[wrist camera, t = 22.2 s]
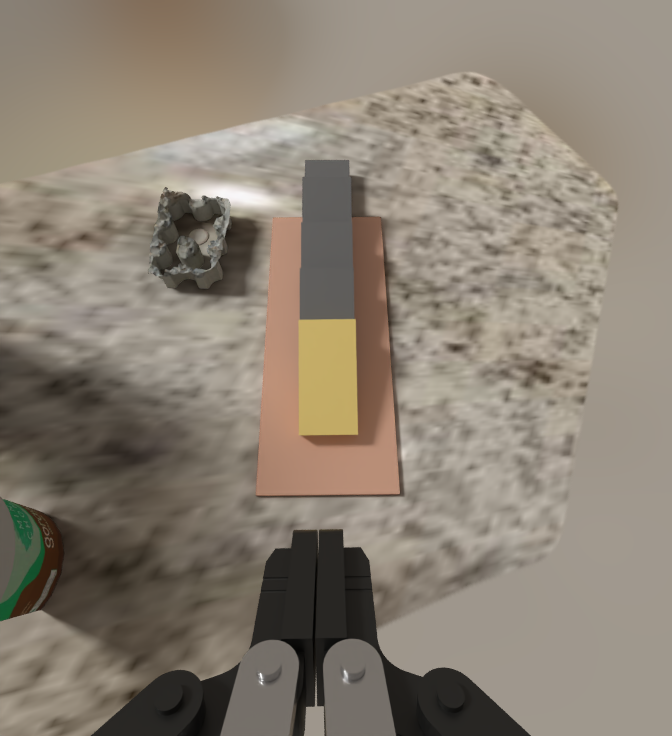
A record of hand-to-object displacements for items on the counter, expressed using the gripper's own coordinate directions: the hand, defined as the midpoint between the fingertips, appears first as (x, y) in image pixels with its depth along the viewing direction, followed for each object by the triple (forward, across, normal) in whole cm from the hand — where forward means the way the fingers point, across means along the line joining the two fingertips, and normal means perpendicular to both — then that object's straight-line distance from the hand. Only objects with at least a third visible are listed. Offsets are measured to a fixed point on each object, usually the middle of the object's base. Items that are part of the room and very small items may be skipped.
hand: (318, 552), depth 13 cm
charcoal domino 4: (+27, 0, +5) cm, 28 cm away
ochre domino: (+23, 0, +9) cm, 25 cm away
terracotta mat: (+31, 0, +3) cm, 31 cm away
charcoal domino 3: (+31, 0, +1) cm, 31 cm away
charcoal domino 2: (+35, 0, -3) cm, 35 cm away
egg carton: (+39, +14, -5) cm, 42 cm away
